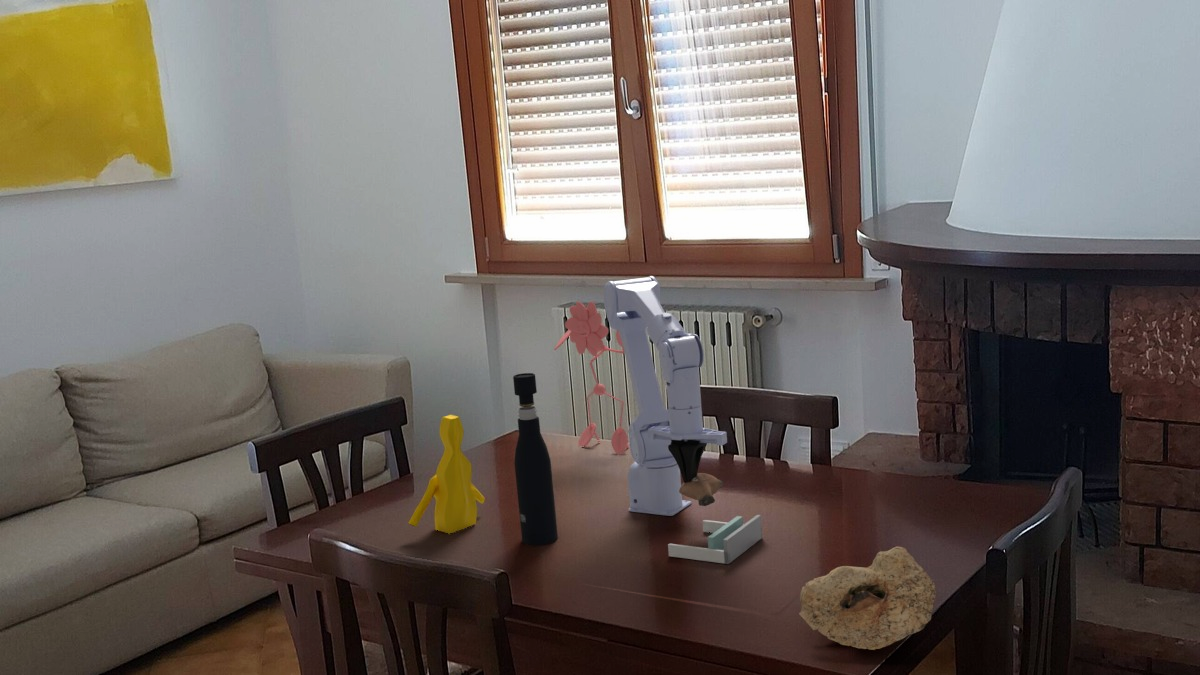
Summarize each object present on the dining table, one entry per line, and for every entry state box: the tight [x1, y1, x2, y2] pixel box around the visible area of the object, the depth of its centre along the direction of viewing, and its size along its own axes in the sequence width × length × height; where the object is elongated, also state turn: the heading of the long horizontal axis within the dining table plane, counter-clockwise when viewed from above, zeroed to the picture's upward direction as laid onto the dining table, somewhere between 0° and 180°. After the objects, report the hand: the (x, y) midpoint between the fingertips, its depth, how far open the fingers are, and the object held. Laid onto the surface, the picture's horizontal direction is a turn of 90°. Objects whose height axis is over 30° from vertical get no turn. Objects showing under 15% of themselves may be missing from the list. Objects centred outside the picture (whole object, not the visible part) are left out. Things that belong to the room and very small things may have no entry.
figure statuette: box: [407, 414, 486, 535], centre depth 215 cm, size 18×8×22 cm, turn 135°
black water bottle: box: [512, 372, 559, 547], centre depth 205 cm, size 6×6×30 cm
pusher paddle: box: [707, 515, 744, 550], centre depth 195 cm, size 1×11×4 cm, turn 148°
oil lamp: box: [679, 472, 724, 507], centre depth 202 cm, size 9×4×8 cm
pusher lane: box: [667, 514, 763, 565], centre depth 196 cm, size 11×13×4 cm
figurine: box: [553, 300, 630, 455], centre depth 257 cm, size 15×26×35 cm, turn 44°
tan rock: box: [798, 546, 937, 651], centre depth 159 cm, size 18×14×8 cm
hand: (690, 481), depth 203 cm, fingers closed, pressing on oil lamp
